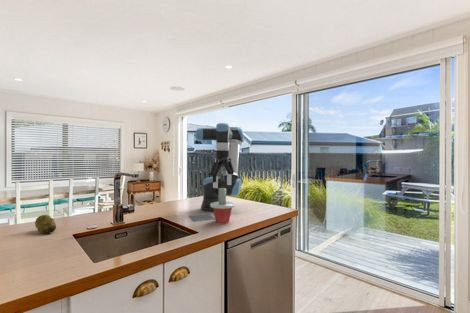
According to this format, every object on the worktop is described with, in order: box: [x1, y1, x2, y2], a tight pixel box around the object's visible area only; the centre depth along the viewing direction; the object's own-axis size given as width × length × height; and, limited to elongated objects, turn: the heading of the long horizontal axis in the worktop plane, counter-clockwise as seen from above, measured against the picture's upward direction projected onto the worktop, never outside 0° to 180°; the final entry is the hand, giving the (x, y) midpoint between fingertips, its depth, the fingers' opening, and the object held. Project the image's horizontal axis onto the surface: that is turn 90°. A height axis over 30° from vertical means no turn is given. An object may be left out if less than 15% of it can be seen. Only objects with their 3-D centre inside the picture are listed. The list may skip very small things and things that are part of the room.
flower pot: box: [213, 207, 233, 225], centre depth 147 cm, size 11×11×10 cm
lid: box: [210, 188, 235, 209], centre depth 147 cm, size 14×14×10 cm
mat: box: [188, 213, 216, 222], centre depth 156 cm, size 14×14×1 cm
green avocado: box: [34, 214, 57, 234], centre depth 128 cm, size 8×13×8 cm, turn 39°
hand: (222, 186), depth 147 cm, fingers open, 13 cm apart
